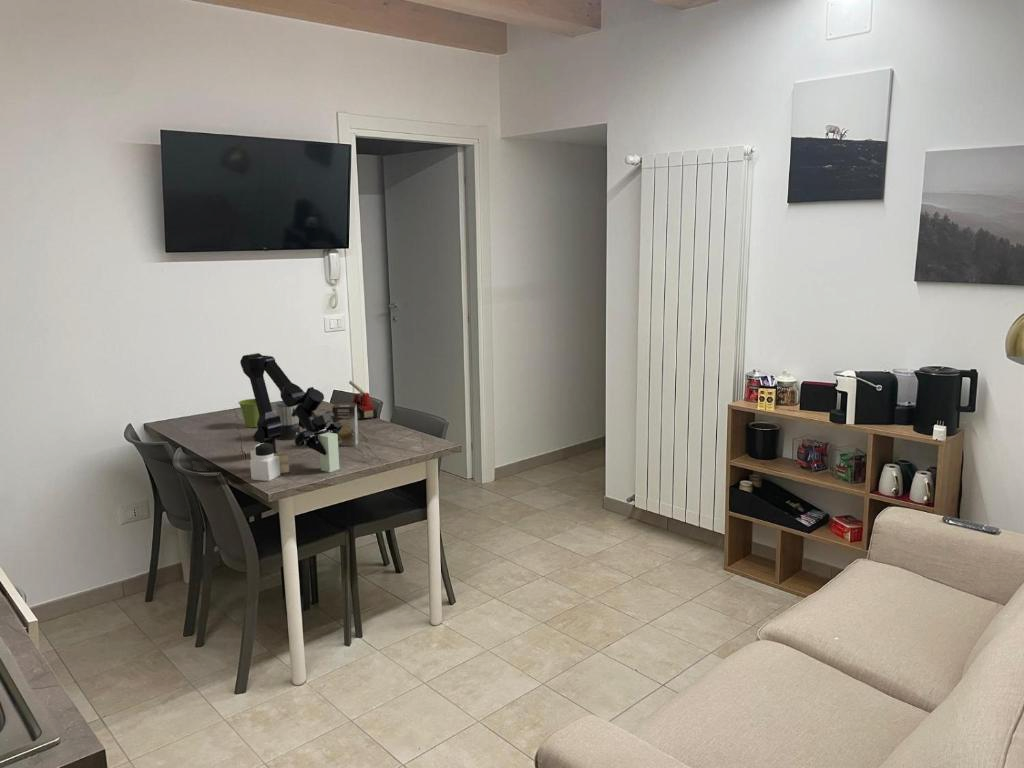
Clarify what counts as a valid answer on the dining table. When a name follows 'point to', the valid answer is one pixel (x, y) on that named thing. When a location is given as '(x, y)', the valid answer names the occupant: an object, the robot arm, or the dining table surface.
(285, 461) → the birch block
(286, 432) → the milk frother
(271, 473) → the medicine bottle
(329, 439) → the sage block
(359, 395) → the toy fire truck
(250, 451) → the plastic canister
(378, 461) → the dining table surface
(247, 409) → the plant pot
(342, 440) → the coffee box
